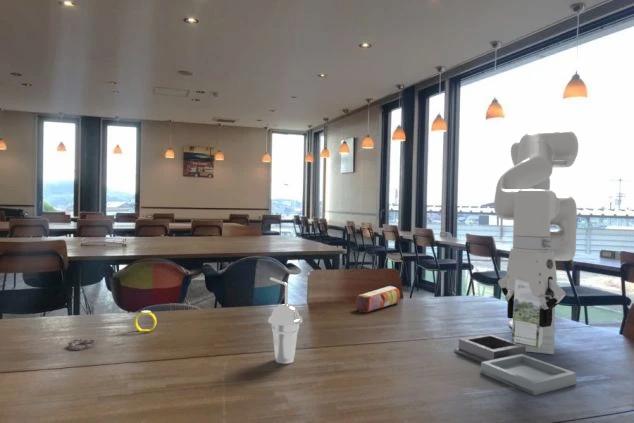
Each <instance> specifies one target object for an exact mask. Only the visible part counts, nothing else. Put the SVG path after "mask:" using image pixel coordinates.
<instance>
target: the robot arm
mask: <svg viewBox="0 0 634 423" xmlns="http://www.w3.org/2000/svg"><path fill="white" fill-rule="evenodd" d="M578 152H579V141H578V137H577V135H576V134H575V133H574V132H573V131H571V130H568V129H558V130H557V129H555V130H535V131H531V132H530V131H529V132H528V133H525V134H524V135H523V136H522V137H521V138H520V140H518V141H516V142H514V143H513V144H512V145H511V148H510V157H511V160H512V164H513V166H512V167H510V168H509V169H508V170H506V171H505V172H504V173H503V174H502V175H501V176H500V178H499V179H498V180H497V184H496V187H495V192H494V193H495V195H494V200H493V201H494V202H493V204H494V205H493V207H494V209H493V210H494V213H495V215H496V216H497V218H499V219H501V220H505V221H513V230H512V248H510V250H509V251H510V252H509V255H508V260H507V267H506V275H505V276H503V277H502V278H500V279H498V281H497V283H498V286H499V288H500V289H501V293H503V295H504V296H505V297H504V299H505V301H507V310H506V311H507V313H506V314H507V318H508V319H512V320H509V321H508V322H509V323H508V325H509V327H510V328H512V325H513V308H514V292H515V280H516V279H519V280H523V281H526V282H529V285H530V289H531V292H532V295H534V296H537V297H539V301H540V303H541V305H542V307H543V308H542V309H540V317H539V326H540V327H549V326H551V323H552V309H553V308H555V309H556V306H558V305H559V304H560V303H561V301H562V300H563V299H564V297H565V296H566V291H565V290H564V289H563V288H562V287H561V286H559V285H558V279H557V278H558V277H557V276H558V275H557V268H556V266H557V265H556V261H557V262H560V261H561V262H568V261H572V260H573V259H574V258H575V255H576V248H577V226H578V224H577V220H578V218H577V217H578V210H577V209H578V208H577V204H576V200H575V199H574V198H573V197H572V196H570V195H564V194H556V193H555V192H554V191H552V190H550V189H551V188H550V187H551V179H550V177H551V176H552V174H553V168H569V167H572V166H573V164H574V163H575V161H576V159H577V156H578ZM551 226H553V227H554V226H555V227H558V228H559V229H551ZM552 296H553V297H552ZM555 320H556V316H555Z"/></svg>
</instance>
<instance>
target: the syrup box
mask: <svg viewBox="0 0 634 423" xmlns="http://www.w3.org/2000/svg"><path fill="white" fill-rule="evenodd" d="M542 308H543V307H542V305H541V303H540V301H539V297H537V296H534V295H532V292H531V289H530V285H529V282H526V281H523V280H519V279H516V280H515V292H514V308H513V318H512V320H513V325H512V327H511V328H512V329H511V341H512V343H516V344H521V345H526V346H531V347H536V348H539V346H540V345H541V343H542V335H543V327H540V326H539V317H540V309H542Z"/></svg>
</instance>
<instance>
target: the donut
mask: <svg viewBox="0 0 634 423" xmlns="http://www.w3.org/2000/svg"><path fill="white" fill-rule="evenodd" d="M94 347H95V342H94V339H79V340H78V339H74V340H72V341H71V342H68V349H69V350H70V351H85V350H89V349H92V348H94Z"/></svg>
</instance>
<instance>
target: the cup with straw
mask: <svg viewBox="0 0 634 423" xmlns="http://www.w3.org/2000/svg"><path fill="white" fill-rule="evenodd" d="M269 280H270V281H272V282H275V283H279V284H281V285H284V304H279V305H278V306H276V307H275V308H274V309H273V311H272V313H271V315H270V316H269V317H268V320H267V322H268V323H269V324H270V326H271V332H272V337H273V338H272V339H273V346H274V347H273V348H274V349H273V350H274V357H275V362H276V363H278V364H282V365H283V364H284V365H286V364H291V363H294V361H295V360H294V359H295V355H296V348H297V340H298V333H299V329H300V324H302V323H303V322H304V321H303V317H302V316H301V315H300V313H299V311H298V309H297V308H296V307H295V306H294V305H291V304H289V301H288V300H289V295H288V294H289V286H288V283H287V282H285V281H284V280H283V281H282V280H279V279H277V278H275V277H272V276H270V278H269Z"/></svg>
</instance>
